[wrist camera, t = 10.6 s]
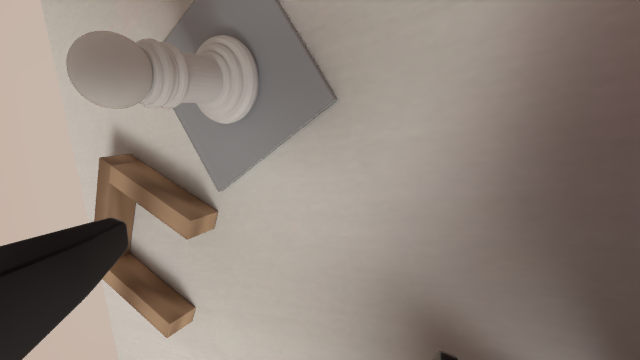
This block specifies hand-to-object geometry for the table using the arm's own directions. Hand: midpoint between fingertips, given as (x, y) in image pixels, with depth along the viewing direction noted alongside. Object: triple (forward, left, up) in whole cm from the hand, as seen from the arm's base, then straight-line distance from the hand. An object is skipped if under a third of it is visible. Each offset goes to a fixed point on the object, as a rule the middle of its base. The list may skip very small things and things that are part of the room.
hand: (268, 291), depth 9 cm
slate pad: (+12, +5, -11) cm, 17 cm away
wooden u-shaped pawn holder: (+6, +19, -11) cm, 23 cm away
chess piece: (+11, +5, -10) cm, 16 cm away
